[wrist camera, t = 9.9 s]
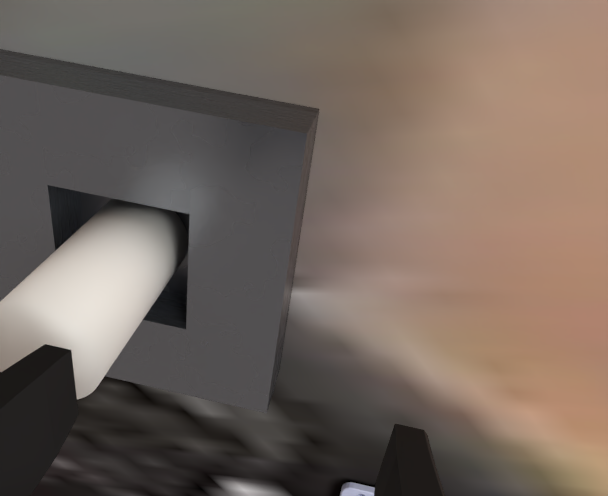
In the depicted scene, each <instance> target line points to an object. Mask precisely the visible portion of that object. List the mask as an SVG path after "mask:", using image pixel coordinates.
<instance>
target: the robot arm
mask: <svg viewBox="0 0 608 496" xmlns="http://www.w3.org/2000/svg"><path fill="white" fill-rule="evenodd" d="M77 416H78V405H77V396H76V387H75V378H74V370H73V361H72V352H71V350H69V349H65V348H61V347H56V346H52V345H47V344H45V345H43V346H41V347H40V348H38V349H37V350H35V351H33V352H32V353H30V354H29V355H27V356H26V357H24V358H23V359H21V360H19V361H18V362H16V363H15V364H13V365H12V366H10V367H9V368H7V369H6V370H4V371H3V372H1V373H0V496H30V495H31V493H32V492H33V491H34V489H35V488H36V486H37V485H38V483H39V482H40V480H41V479H42V477H43V476H44V474H45V473H46V471H47V470H48V468H49V467H50V465H51V464H52V462H53V461H54V459H55V458H56V456H57V454H58V453H59V451H60V449H61V447H62V445H63V443H64V442H65V440H66V438H67V436H68V434H69V432H70V430H71V428H72V426H73V424H74V422H75V420H76V418H77ZM339 496H445V494H444V491H443V488H442V485H441V482H440V478H439V475H438V472H437V469H436V465H435V462H434V459H433V455H432V451H431V447H430V444H429V439H428V435H427V434H426V432H425V431H424V430H421V429H417V428H412V427H408V426H403V425H399V424H395V425H394V428H393V431H392V434H391V437H390V440H389V444H388V447H387V450H386V453H385V456H384V459H383V462H382V465H381V468H380V471H379V474H378V477H377V480H376V483H375V487H371V486H366V485H362V484H358V483H354V482H348V483H345V484H343V486H342V488H341V492H340V495H339Z"/></svg>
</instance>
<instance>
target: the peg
mask: <svg viewBox="0 0 608 496" xmlns="http://www.w3.org/2000/svg"><path fill="white" fill-rule="evenodd" d="M187 250H188V236H187V232H186V229H185V226H184V224H183V222H182V221H181V219H180V218H179V216H178V215H177V214H176V212H175V211H172V210H167V209H162V208H157V207H152V206H147V205H143V204H138V203H133V202H128V201H123V200H118V199H113V198H112V199H111V200H110V201H109V202H108V203H107V204H106V205H104V206H103V207H102V208H101V209H100V210H99V211H98V212H97V213H96V214H95V215H94V216H93V217H91V218H90V219H89V220H88V221H87V222H86V223H85V224H84V225H83V226H82V227H81V228H80V229H78V230H77V231H76V232H75V233H74V234H73V235H72V236H71V237H70V238H69V239H68V240H67V241H65V242H64V243H63V244H62V245H61V246H60V247H59V248H58V249H57V250H56V251H55V252H54V253H52V254H51V255H50V256H49V257H48V258H47V259H46V260H45V261H44V262H43V263H42V264H40V265H39V266H38V267H37V268H36V269H35V270H34V271H33V272H32V273H31V274H30V275H29V276H27V277H26V278H25V279H24V280H23V281H22V282H21V283H20V284H19V285H18V286H17V287H16V288H14V289H13V290H12V291H11V292H10V293H9V294H8V295H7V296H6V297H5V298H4V299H3V300H1V301H0V372H3V371H4V370H6V369H7V368H9V367H10V366H12V365H13V364H15V363H16V362H18V361H19V360H21V359H23V358H24V357H26V356H27V355H29V354H30V353H32V352H33V351H35V350H37V349H38V348H40V347H41V346H43V345H45V344H47V345H52V346H56V347H61V348H65V349H69V350H71V352H72V361H73V370H74V378H75V387H76V396H77V399H81V398H83V397H86V396H88V395H89V394H91V393H92V392H93V391H94V390H95V389H96V388H97V386H98V385H99V383H100V382H101V380H102V379H103V377H104V376H105V375H106V373H107V372H108V370H109V369H110V367H111V366H112V364H113V363H114V361H115V360H116V358H117V357H118V355H119V354H120V352H121V351H122V350H123V348H124V347H125V345H126V344H127V342H128V341H129V339H130V338H131V336H132V335H133V333H134V332H135V330H136V329H137V327H138V326H139V325H140V323H141V322H142V320H143V319H144V317H145V316H146V314H147V313H148V311H149V310H150V308H151V307H152V305H153V304H154V302H155V301H156V299H157V298H158V297H159V295H160V294H161V292H162V291H163V289H164V288H165V286H166V285H167V283H168V282H169V280H170V279H171V277H172V276H173V274H174V273H175V272H176V270H177V269H178V267H179V266H180V264H181V263H182V261H183V260H184V258H185V256H186V254H187Z"/></svg>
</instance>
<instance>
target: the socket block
mask: <svg viewBox="0 0 608 496" xmlns="http://www.w3.org/2000/svg"><path fill="white" fill-rule="evenodd" d="M318 115H319V109H316V108H311V107H305V106H300V105H295V104H289V103H284V102H279V101H273V100H268V99H263V98H257V97H252V96H247V95H241V94H236V93H231V92H225V91H220V90H215V89H209V88H204V87H199V86H193V85H188V84H183V83H177V82H172V81H166V80H161V79H156V78H150V77H145V76H140V75H134V74H129V73H124V72H118V71H113V70H108V69H102V68H97V67H92V66H86V65H81V64H76V63H70V62H65V61H60V60H54V59H49V58H44V57H38V56H33V55H28V54H22V53H17V52H12V51H6V50H1V49H0V301H1V300H3V299H4V298H5V297H6V296H7V295H8V294H9V293H10V292H11V291H12V290H13V289H14V288H16V287H17V286H18V285H19V284H20V283H21V282H22V281H23V280H24V279H25V278H26V277H27V276H29V275H30V274H31V273H32V272H33V271H34V270H35V269H36V268H37V267H38V266H39V265H40V264H42V263H43V262H44V261H45V260H46V259H47V258H48V257H49V256H50V255H51V254H52V253H54V252H55V251H56V250H57V249H58V248H59V247H60V246H61V245H62V244H63V243H64V242H65V241H67V240H68V239H69V238H70V237H71V236H72V235H73V234H74V233H75V232H76V231H77V230H78V229H80V228H81V227H82V226H83V225H84V224H85V223H86V222H87V221H88V220H89V219H90V218H91V217H93V216H94V215H95V214H96V213H97V212H98V211H99V210H100V209H101V208H102V207H103V206H104V205H106V204H107V203H108V202H109V201H110V200H111V199H112V198H113V199H118V200H123V201H128V202H133V203H138V204H143V205H147V206H152V207H157V208H162V209H167V210H172V211H175V212H176V214H177V215H178V216H179V218H180V219H181V221H182V222H183V224H184V226H185V229H186V232H187V236H188V250H187V254H186V256H185V258H184V260H183V261H182V263H181V264H180V266H179V267H178V269H177V270H176V272H175V273H174V274H173V276H172V277H171V279H170V280H169V282H168V283H167V285H166V286H165V288H164V289H163V291H162V292H161V294H160V295H159V297H158V298H157V299H156V301H155V302H154V304H153V305H152V307H151V308H150V310H149V311H148V313H147V314H146V316H145V317H144V319H143V320H142V322H141V323H140V325H139V326H138V327H137V329H136V330H135V332H134V333H133V335H132V336H131V338H130V339H129V341H128V342H127V344H126V345H125V347H124V348H123V350H122V351H121V352H120V354H119V355H118V357H117V358H116V360H115V361H114V363H113V364H112V366H111V367H110V369H109V370H108V372H107V373H106V375H105V376H107V377H111V378H116V379H120V380H124V381H129V382H133V383H137V384H142V385H146V386H150V387H155V388H159V389H163V390H168V391H172V392H176V393H181V394H185V395H189V396H194V397H198V398H202V399H207V400H211V401H216V402H220V403H224V404H229V405H233V406H237V407H242V408H246V409H250V410H255V411H259V412H263V413H267V410H268V407H269V404H270V400H271V397H272V394H273V390H274V387H275V384H276V380H277V377H278V373H279V369H280V363H281V356H282V350H283V343H284V337H285V330H286V324H287V317H288V311H289V304H290V297H291V291H292V284H293V278H294V271H295V265H296V258H297V252H298V245H299V239H300V232H301V226H302V219H303V213H304V206H305V200H306V193H307V186H308V180H309V173H310V167H311V160H312V154H313V147H314V141H315V134H316V128H317V121H318Z"/></svg>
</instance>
